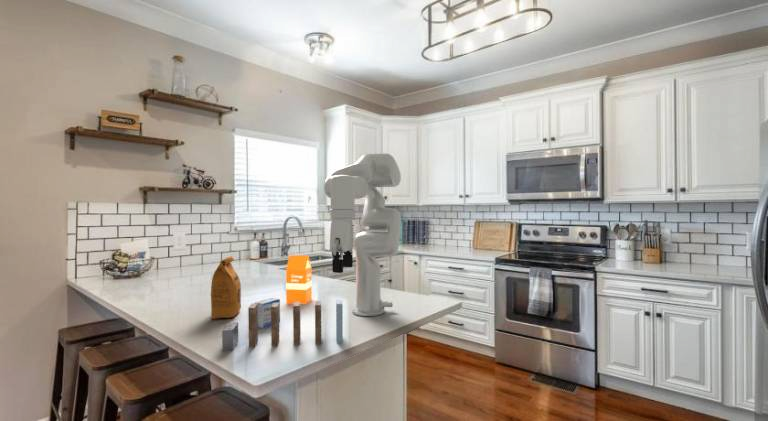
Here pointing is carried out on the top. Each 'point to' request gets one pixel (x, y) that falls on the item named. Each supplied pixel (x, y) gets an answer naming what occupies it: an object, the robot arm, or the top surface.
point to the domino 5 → (339, 321)
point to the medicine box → (266, 312)
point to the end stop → (230, 336)
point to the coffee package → (225, 291)
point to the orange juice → (298, 279)
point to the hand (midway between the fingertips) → (342, 269)
